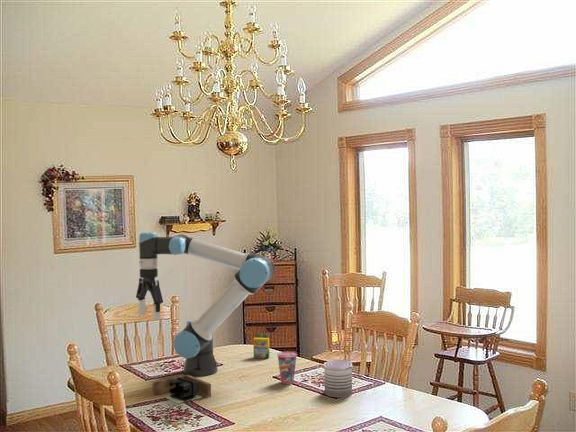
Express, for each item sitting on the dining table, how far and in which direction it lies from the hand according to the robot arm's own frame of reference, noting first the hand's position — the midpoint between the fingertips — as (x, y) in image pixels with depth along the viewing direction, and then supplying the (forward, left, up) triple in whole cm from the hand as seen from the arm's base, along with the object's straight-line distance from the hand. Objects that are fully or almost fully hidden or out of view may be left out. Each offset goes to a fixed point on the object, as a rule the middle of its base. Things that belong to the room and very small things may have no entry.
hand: (149, 317), depth 278 cm
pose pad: (+3, +33, -27) cm, 42 cm away
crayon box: (-57, +4, -27) cm, 63 cm away
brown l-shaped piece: (+2, +30, -27) cm, 40 cm away
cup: (-41, +44, -27) cm, 66 cm away
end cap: (+2, +33, -27) cm, 42 cm away
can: (-47, +68, -27) cm, 87 cm away
